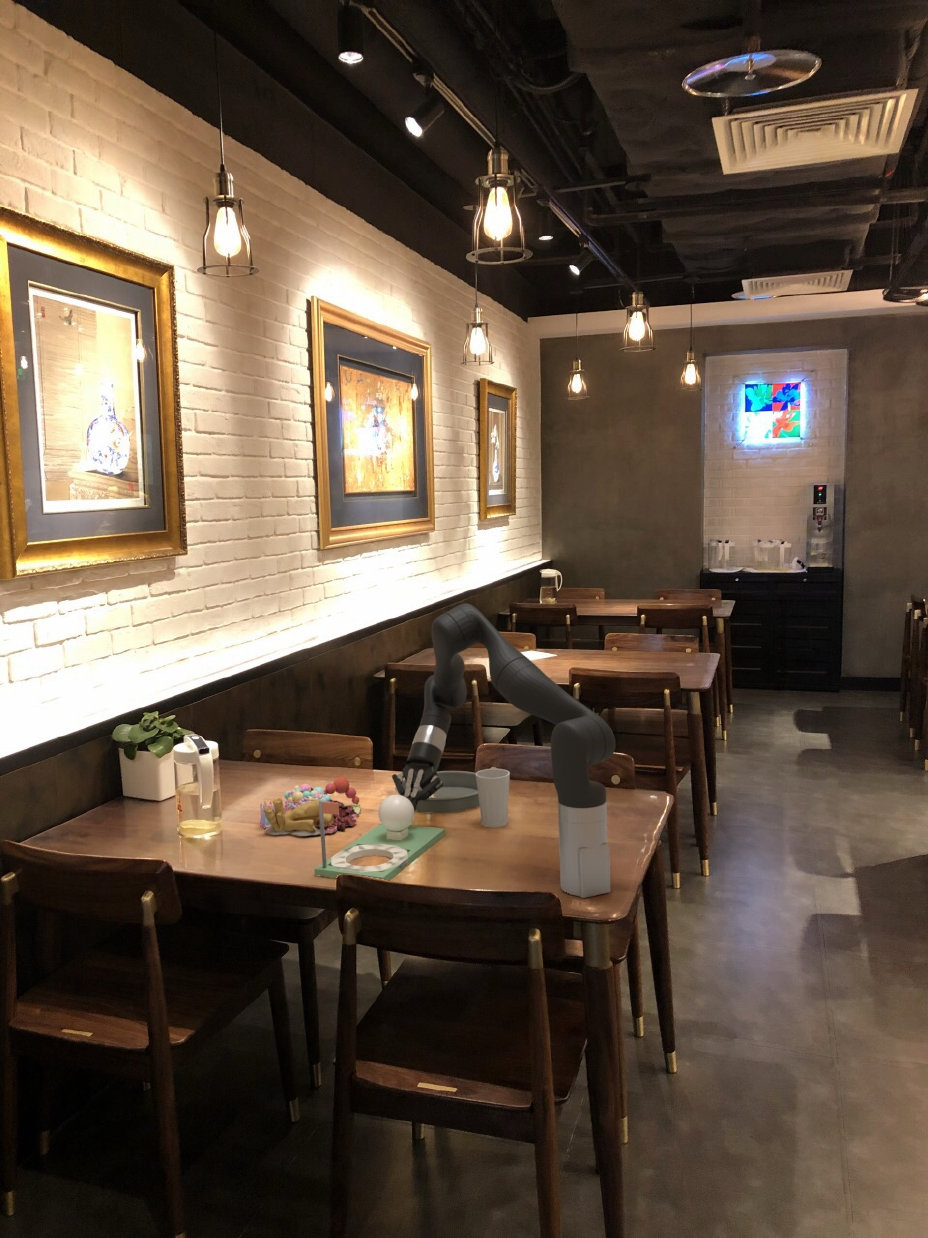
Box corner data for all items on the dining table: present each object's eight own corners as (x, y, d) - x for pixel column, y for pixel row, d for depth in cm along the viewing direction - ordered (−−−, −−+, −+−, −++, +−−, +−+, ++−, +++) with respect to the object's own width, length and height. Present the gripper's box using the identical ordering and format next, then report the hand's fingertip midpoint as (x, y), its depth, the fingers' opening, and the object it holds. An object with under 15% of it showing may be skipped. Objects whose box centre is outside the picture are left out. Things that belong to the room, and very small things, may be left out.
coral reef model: (355, 837, 218) (353, 798, 217) (252, 843, 217) (250, 803, 216) (363, 803, 243) (361, 768, 242) (271, 808, 242) (268, 773, 241)
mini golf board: (383, 828, 222) (379, 764, 220) (445, 835, 216) (442, 768, 214) (314, 876, 195) (310, 802, 193) (383, 885, 188) (379, 809, 187)
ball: (420, 832, 209) (418, 797, 208) (385, 839, 206) (383, 803, 205) (408, 822, 216) (406, 788, 216) (374, 828, 214) (373, 793, 213)
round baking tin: (449, 781, 260) (448, 765, 259) (512, 799, 241) (511, 782, 241) (376, 802, 244) (375, 785, 243) (438, 823, 225) (437, 804, 225)
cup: (508, 829, 218) (506, 778, 216) (474, 828, 220) (472, 778, 218) (513, 818, 226) (512, 768, 224) (481, 817, 227) (479, 768, 226)
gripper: (457, 758, 225) (438, 824, 216) (408, 755, 231) (387, 819, 221) (447, 742, 220) (427, 809, 210) (396, 739, 225) (374, 804, 215)
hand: (406, 814), depth 215 cm, fingers closed
